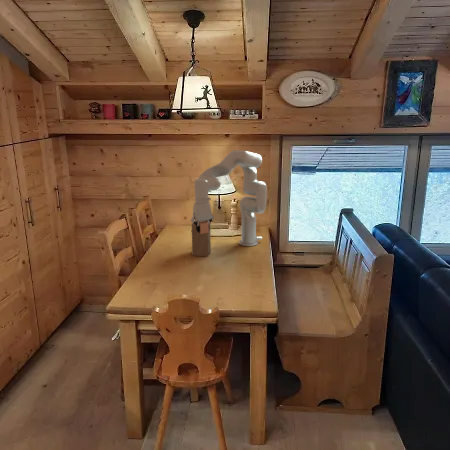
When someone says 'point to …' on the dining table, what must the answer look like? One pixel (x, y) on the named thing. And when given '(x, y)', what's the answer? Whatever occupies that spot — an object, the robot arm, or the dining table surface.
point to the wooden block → (200, 243)
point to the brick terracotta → (204, 227)
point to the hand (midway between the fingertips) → (203, 231)
